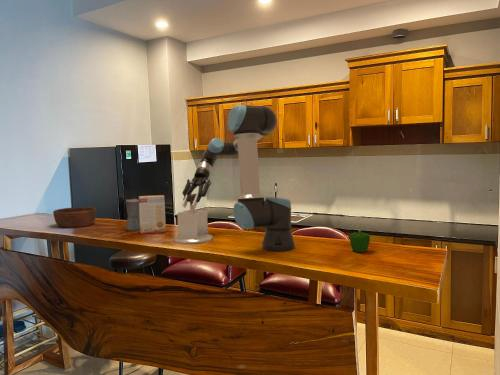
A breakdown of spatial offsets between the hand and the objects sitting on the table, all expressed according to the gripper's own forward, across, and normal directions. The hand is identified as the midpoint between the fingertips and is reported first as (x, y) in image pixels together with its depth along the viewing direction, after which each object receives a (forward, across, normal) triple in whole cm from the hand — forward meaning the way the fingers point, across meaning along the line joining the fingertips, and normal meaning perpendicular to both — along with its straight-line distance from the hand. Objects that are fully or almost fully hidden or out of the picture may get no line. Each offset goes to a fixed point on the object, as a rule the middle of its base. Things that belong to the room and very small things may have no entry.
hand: (188, 206), depth 184 cm
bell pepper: (+10, -82, -15) cm, 84 cm away
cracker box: (+3, +31, -22) cm, 38 cm away
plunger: (+9, 0, -14) cm, 17 cm away
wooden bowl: (-1, +94, -27) cm, 97 cm away
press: (+10, 0, -15) cm, 18 cm away
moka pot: (0, +48, -25) cm, 54 cm away
